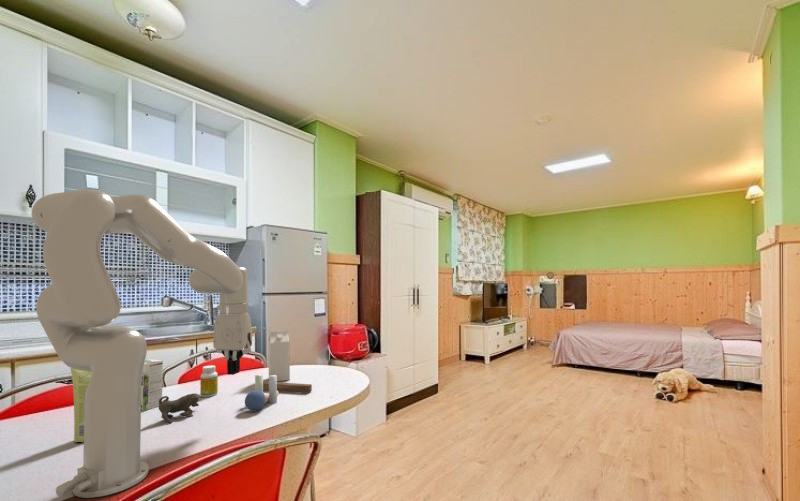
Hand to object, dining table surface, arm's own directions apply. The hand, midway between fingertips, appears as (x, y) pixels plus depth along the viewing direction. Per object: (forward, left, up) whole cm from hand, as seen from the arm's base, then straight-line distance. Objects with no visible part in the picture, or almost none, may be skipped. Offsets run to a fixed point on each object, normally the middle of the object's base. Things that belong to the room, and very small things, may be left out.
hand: (233, 373), depth 112 cm
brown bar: (+28, 0, -13) cm, 31 cm away
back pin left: (+16, +3, -13) cm, 21 cm away
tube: (-18, +30, -14) cm, 38 cm away
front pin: (+13, 0, -12) cm, 18 cm away
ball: (+9, -1, -10) cm, 14 cm away
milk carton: (+41, +10, -14) cm, 44 cm away
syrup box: (+5, +35, -14) cm, 38 cm away
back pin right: (+16, -2, -13) cm, 21 cm away
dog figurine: (0, +18, -14) cm, 22 cm away
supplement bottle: (+19, +24, -14) cm, 34 cm away
